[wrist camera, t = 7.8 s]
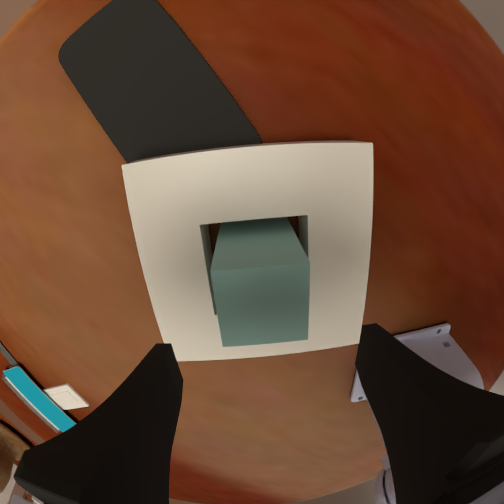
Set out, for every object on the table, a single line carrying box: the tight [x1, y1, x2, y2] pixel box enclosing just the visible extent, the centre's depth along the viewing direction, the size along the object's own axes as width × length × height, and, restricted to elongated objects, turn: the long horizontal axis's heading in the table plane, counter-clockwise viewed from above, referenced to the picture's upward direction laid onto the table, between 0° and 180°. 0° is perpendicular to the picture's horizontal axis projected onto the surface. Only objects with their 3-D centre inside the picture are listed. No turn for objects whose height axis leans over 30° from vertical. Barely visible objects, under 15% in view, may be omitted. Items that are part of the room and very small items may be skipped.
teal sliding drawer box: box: [0, 343, 90, 433], centre depth 25 cm, size 20×12×2 cm, turn 25°
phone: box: [59, 0, 262, 163], centre depth 15 cm, size 7×1×15 cm
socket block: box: [122, 140, 373, 361], centre depth 18 cm, size 13×13×3 cm
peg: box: [210, 217, 310, 347], centre depth 16 cm, size 4×4×7 cm
